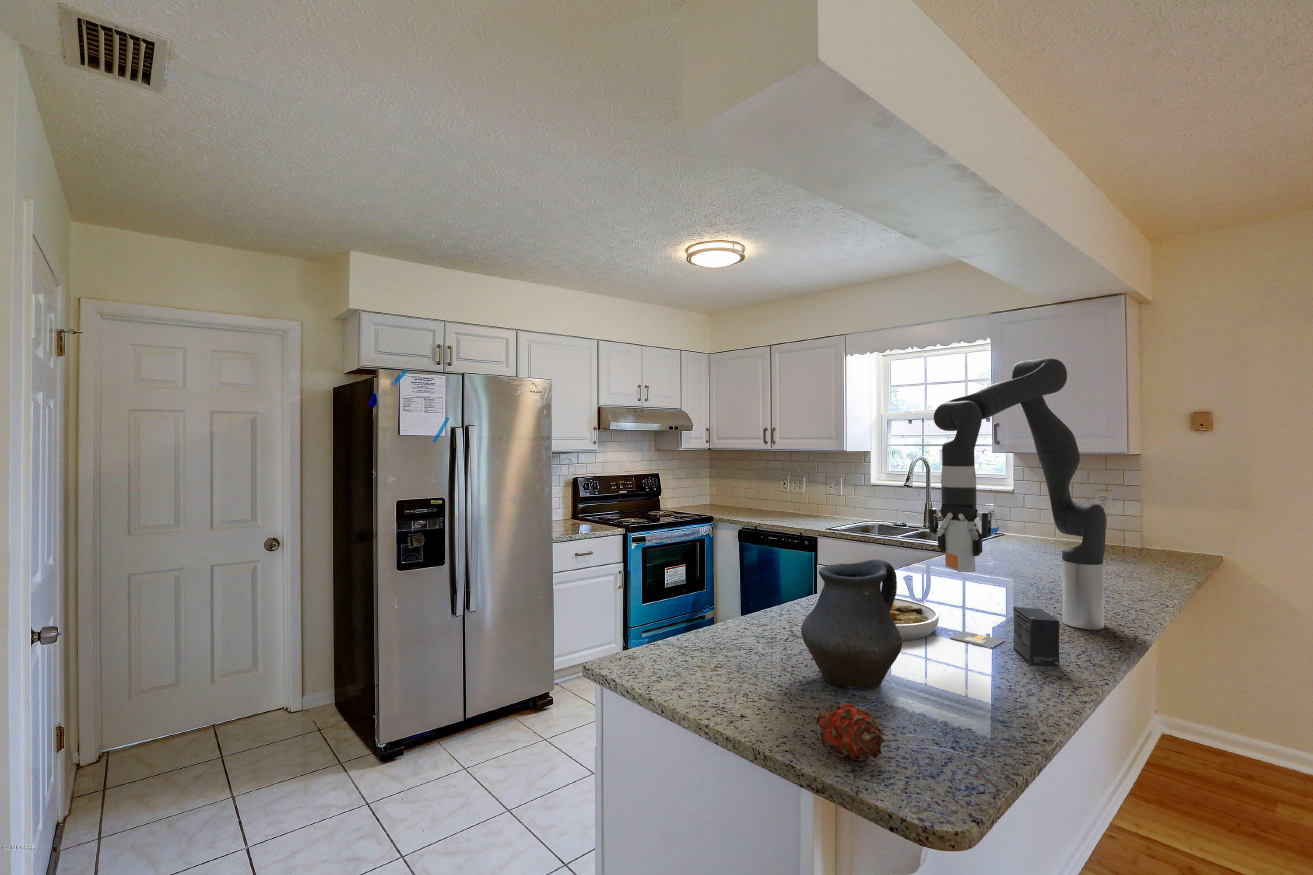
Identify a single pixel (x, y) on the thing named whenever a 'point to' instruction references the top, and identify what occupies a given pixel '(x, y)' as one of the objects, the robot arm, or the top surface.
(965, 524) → the skincare box
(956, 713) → the top surface
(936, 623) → the bowl
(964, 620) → the top surface
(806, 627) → the pitcher
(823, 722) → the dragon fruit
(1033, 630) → the small box
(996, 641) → the card
